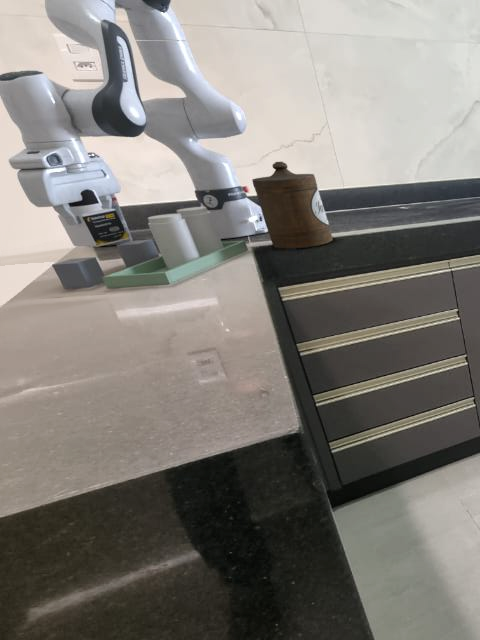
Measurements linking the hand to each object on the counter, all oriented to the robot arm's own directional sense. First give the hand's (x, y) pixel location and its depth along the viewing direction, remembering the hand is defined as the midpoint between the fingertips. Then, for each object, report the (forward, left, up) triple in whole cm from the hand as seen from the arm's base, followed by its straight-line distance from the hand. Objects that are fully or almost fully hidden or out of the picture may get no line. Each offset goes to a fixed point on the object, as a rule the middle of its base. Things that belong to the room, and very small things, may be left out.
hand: (92, 220), depth 120 cm
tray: (-2, +14, -13) cm, 19 cm away
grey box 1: (+9, 0, -13) cm, 16 cm away
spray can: (-44, -31, -13) cm, 55 cm away
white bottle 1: (-2, +14, -12) cm, 19 cm away
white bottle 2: (-12, +14, -12) cm, 22 cm away
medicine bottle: (0, 0, -5) cm, 5 cm away
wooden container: (-24, +32, -13) cm, 42 cm away
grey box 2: (-9, 0, -13) cm, 16 cm away
